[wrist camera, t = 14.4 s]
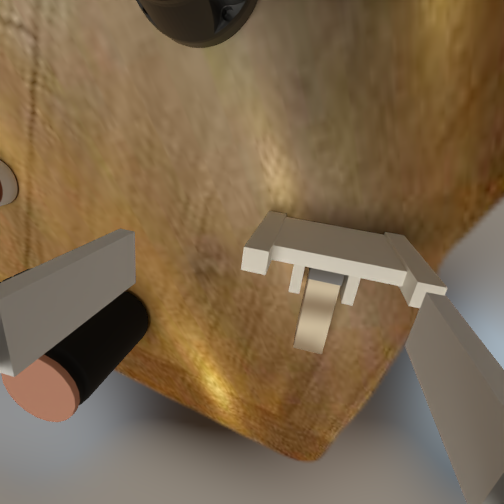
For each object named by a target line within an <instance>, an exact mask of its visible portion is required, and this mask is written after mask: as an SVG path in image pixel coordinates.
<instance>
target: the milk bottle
mask: <svg viewBox="0 0 504 504" xmlns="http://www.w3.org/2000/svg"><path fill="white" fill-rule="evenodd" d="M17 191H18V187H17V182H16V178H15V176H14V174H13V172H12V171H11V169H10V168H9V167H8V166H7V165H6V164H5V163H3V162H2V161H0V206H2V205H6V204H9V203H11V202H12V201H13V200H14V199H15V197H16V196H17Z"/></svg>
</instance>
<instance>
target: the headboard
mask: <svg viewBox="0 0 504 504" xmlns="http://www.w3.org/2000/svg"><path fill="white" fill-rule="evenodd" d="M286 216H287V214H284V213H279V212H273V211H269V213H268V214H267V215H266V217H265V218H264V220H263V221H262V222H261V224H260V225H259V226H258V228H257V229H256V231H255V232H254V233H253V235H252V236H251V238H250V239H249V240H248V242H247V243H246V245H245V246H244V251H243V258H242V266H241V270H244V271H249V272H254V273H258V274H263V275H266V272H267V270H268V267H269V265H270V263H271V260H276V261H281V262H285V263H290V264H294V267H293V272H292V277H291V282H290V287H289V292H293V293H297V294H299V292H300V287H301V282H302V278H303V273H304V269H305V267H310V268H314V269H319V270H324V271H329V272H334V273H339V274H343V275H344V279H343V282H342V286H340V296H341V303H342V304H347V305H351V306H353V302H354V299H355V296H356V292H357V289H358V285H359V282H360V279H361V278H363V279H368V280H373V281H377V282H382V283H387V284H392V285H397V286H399V288H400V290H401V292H402V294H403V296H404V298H405V300H406V302H407V304H408V306H412V307H416V308H420V307H421V304H422V302H423V299H424V297H425V294H426V292H429V293H434V294H438V295H443V296H444V295H445V293H446V291H447V287H446V285H445V284H444V283H443V282H442V281H441V279H440V278H439V277H438V276H437V275H436V273H435V272H434V271H433V270H432V269H431V267H430V266H429V265H428V264H427V262H426V261H425V260H424V259H423V258H422V256H421V255H420V254H419V253H418V252H417V250H416V249H415V248H414V247H413V246H412V244H411V243H410V242H409V241H408V240H407V238H406V237H405V236H404V235H400V234H394V233H389V232H385V233H384V235H383V234H377V233H372V232H367V231H361V230H356V229H350V228H345V227H339V226H334V225H328V224H323V223H317V222H312V221H307V220H301V219H296V218H290V217H286Z"/></svg>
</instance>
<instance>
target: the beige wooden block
mask: <svg viewBox="0 0 504 504" xmlns="http://www.w3.org/2000/svg"><path fill="white" fill-rule="evenodd" d="M343 279H344V275H343V274H339V273H334V272H329V271H324V270H319V269H314V268H310V267H309V272H308V277H307V281H306V286H305V290H304V294H303V299H302V303H301V308H300V312H299V317H298V321H297V326H296V332H295V339H294V348H298V349H302V350H306V351H310V352H314V353H318V354H322V351H323V348H324V344H325V340H326V337H327V333H328V329H329V326H330V322H331V318H332V315H333V311H334V307H335V304H336V300H337V296H338V293H339V289H340V286H342V282H343Z"/></svg>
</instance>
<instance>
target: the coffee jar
mask: <svg viewBox="0 0 504 504" xmlns="http://www.w3.org/2000/svg"><path fill="white" fill-rule="evenodd" d="M147 327H148V316H147V313H146V310H145V308H144V306H143V305H142V303H141V302H140V301H139V300H138V299H137V298H136V297H135V296H133V295H131V294H130V293H128V292H125V291H124V292H123V293H122V294H120V295H119V296H118V297H117V298H115V299H114V300H113V301H112V302H110V303H109V304H108V305H106V306H105V307H104V308H103V309H101V310H100V311H99V312H97V313H96V314H95V315H94V316H92V317H91V318H90V319H88V320H87V321H86V322H85V323H83V324H82V325H81V326H79V327H78V328H77V329H76V330H74V331H73V332H72V333H70V334H69V335H68V336H67V337H65V338H64V339H63V340H61V341H60V342H59V343H58V344H56V345H55V346H54V347H52V348H51V349H50V350H49V351H47V352H46V353H45V354H43V355H42V356H41V357H40V358H38V359H37V360H36V361H35V362H33V363H32V364H31V365H29V366H28V367H27V368H26V369H24V370H23V371H22V372H20V373H19V374H18V375H17V376H15V377H12V376H9V375H6V374H3V373H1V374H2V379H3V383H4V385H5V387H6V389H7V391H8V393H9V394H10V395H11V397H12V398H13V399H14V400H15V402H16V403H17V404H18V405H20V406H21V407H22V408H23V409H24V410H26V411H27V412H29V413H31V414H32V415H34V416H35V417H37V418H40V419H43V420H46V421H52V422H60V421H64V420H67V419H68V418H69V417H70V416H72V415H73V414H74V413H75V412H76V410H77V408H78V405H80V404H82V403H83V402H84V401H85V400H86V399H87V398H89V396H90V395H91V394H92V393H93V392H94V391H95V390H96V389H97V388H98V386H99V385H100V384H101V383H102V382H103V381H104V380H105V379H106V378H107V376H108V375H109V374H110V373H111V372H112V371H113V370H114V369H115V368H116V366H117V365H118V364H119V363H120V362H121V361H122V360H123V359H124V357H125V356H126V355H127V354H128V353H129V352H130V351H131V350H132V349H133V347H134V346H135V345H136V344H137V343H138V342H139V341H140V340H141V339H142V337H143V336H144V335H145V333H146V330H147Z"/></svg>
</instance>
